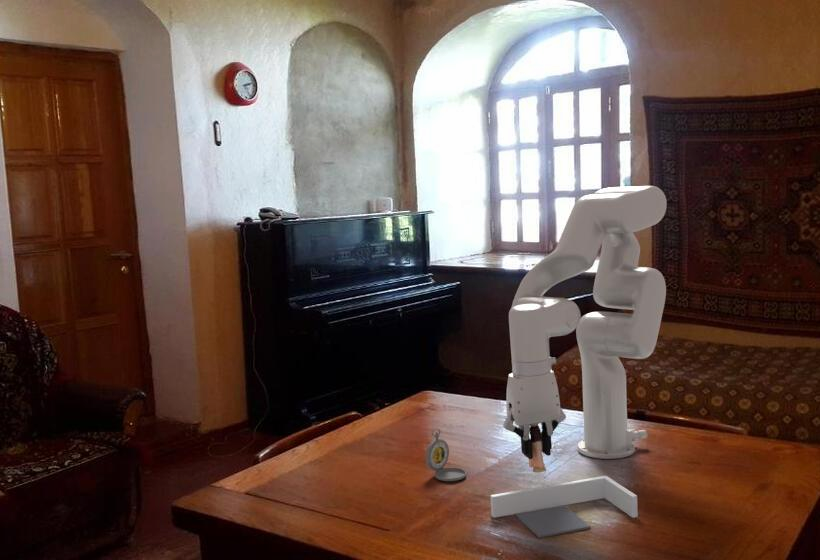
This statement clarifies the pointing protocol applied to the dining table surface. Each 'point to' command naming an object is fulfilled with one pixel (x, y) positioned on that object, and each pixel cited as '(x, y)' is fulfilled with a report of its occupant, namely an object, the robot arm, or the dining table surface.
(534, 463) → the grandmother figurine
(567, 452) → the dining table surface
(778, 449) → the dining table surface
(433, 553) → the dining table surface
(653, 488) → the dining table surface
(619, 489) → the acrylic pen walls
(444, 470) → the pocket watch
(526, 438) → the robot arm
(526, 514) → the slate mat
